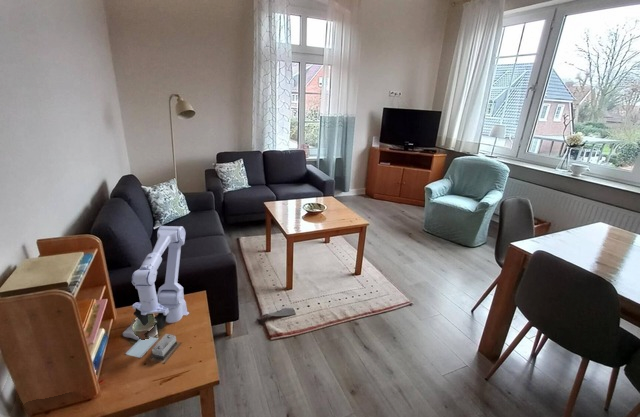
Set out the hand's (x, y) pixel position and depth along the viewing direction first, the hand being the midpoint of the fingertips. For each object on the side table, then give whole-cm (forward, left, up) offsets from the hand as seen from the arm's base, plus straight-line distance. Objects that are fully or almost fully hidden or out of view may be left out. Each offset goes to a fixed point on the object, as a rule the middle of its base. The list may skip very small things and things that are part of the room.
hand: (154, 325), depth 122 cm
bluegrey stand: (+3, -5, -10) cm, 12 cm away
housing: (+3, +6, -9) cm, 11 cm away
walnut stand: (+3, +6, -10) cm, 12 cm away
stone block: (-5, -13, -11) cm, 18 cm away
